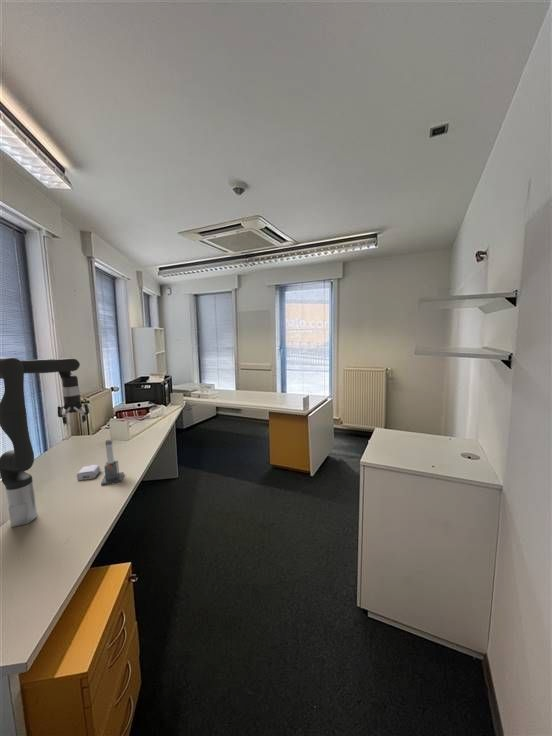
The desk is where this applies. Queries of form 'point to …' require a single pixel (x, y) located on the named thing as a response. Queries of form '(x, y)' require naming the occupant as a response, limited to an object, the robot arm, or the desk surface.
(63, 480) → the desk surface
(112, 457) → the column
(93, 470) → the charger
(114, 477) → the stand
